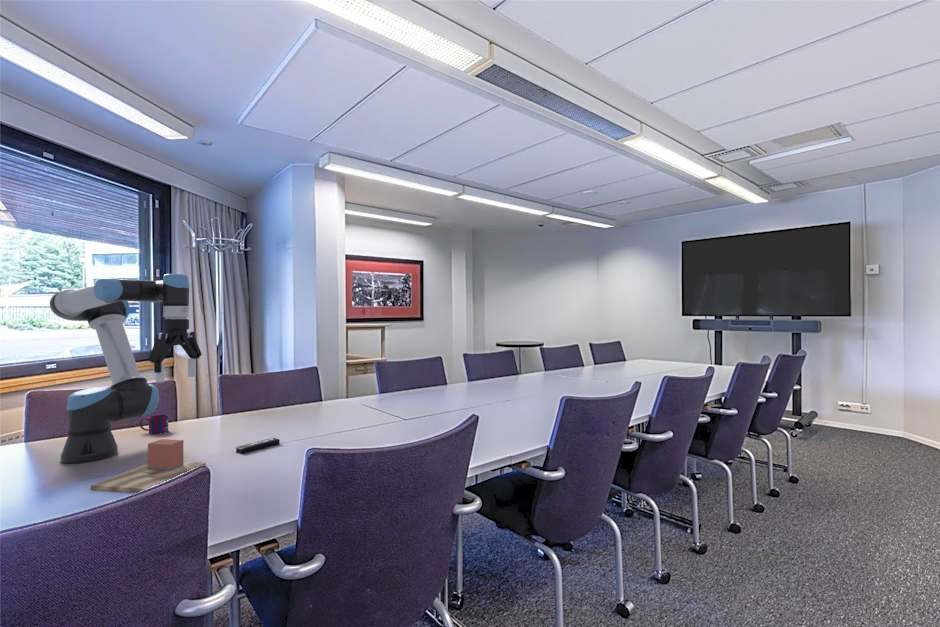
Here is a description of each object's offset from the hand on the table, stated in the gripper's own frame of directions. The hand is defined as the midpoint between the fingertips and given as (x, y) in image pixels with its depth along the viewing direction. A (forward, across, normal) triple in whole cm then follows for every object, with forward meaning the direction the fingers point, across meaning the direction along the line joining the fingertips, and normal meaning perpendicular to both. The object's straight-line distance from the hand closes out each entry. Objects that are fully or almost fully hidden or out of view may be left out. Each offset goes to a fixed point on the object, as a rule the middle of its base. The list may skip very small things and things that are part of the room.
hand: (176, 379), depth 155 cm
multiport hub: (+27, +12, -23) cm, 38 cm away
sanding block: (+26, -14, -9) cm, 30 cm away
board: (+27, -19, -9) cm, 34 cm away
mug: (+27, +26, +35) cm, 51 cm away
